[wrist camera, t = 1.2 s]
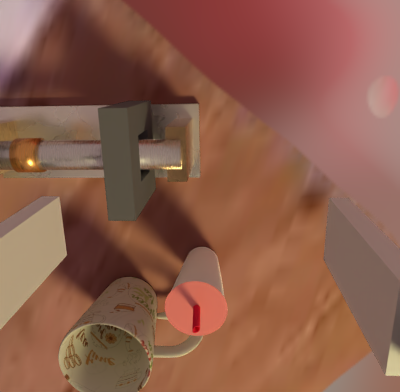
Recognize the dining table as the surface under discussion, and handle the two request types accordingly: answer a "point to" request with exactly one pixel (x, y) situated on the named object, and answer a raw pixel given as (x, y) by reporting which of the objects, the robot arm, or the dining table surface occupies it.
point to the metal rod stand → (93, 142)
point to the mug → (117, 340)
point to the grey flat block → (125, 158)
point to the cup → (197, 295)
